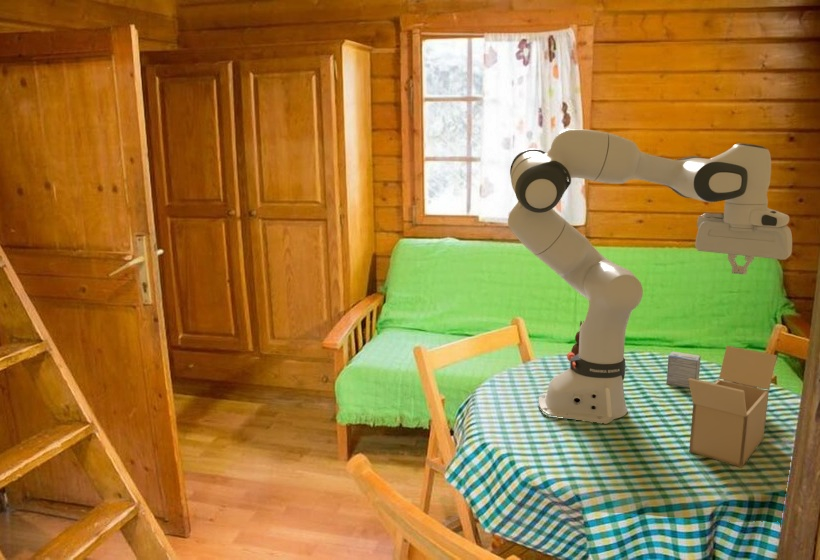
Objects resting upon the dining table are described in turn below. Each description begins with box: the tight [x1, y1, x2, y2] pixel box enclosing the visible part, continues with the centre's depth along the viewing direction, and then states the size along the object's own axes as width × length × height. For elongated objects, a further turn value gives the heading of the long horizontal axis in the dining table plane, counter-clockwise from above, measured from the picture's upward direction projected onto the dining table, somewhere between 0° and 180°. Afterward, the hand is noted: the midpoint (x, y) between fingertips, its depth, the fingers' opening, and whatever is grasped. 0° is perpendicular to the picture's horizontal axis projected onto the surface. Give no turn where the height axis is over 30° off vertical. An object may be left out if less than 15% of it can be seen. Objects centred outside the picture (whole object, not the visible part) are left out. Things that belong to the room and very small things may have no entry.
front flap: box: [688, 378, 747, 417], centre depth 137 cm, size 11×8×1 cm
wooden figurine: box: [570, 320, 585, 355], centre depth 196 cm, size 7×6×15 cm
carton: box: [688, 378, 770, 468], centre depth 147 cm, size 11×17×12 cm, turn 138°
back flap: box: [718, 345, 778, 391], centre depth 153 cm, size 11×8×1 cm
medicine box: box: [666, 351, 701, 389], centre depth 182 cm, size 8×4×9 cm, turn 58°
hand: (739, 273), depth 153 cm, fingers closed
